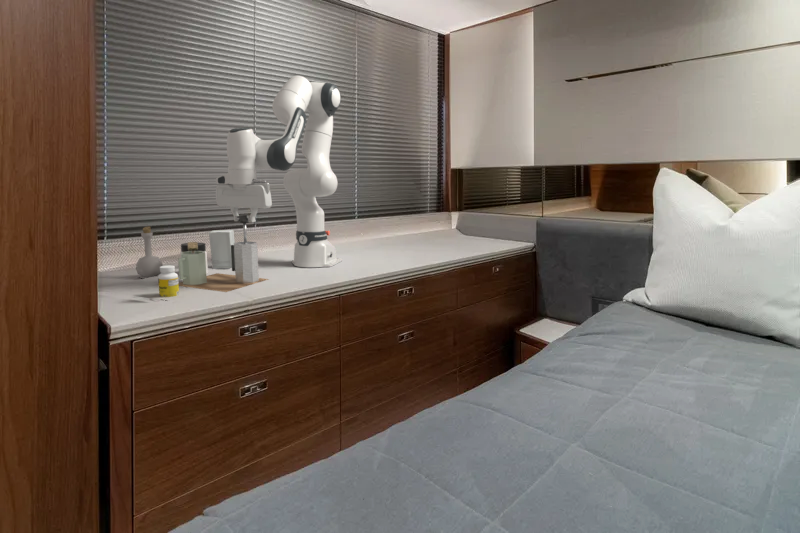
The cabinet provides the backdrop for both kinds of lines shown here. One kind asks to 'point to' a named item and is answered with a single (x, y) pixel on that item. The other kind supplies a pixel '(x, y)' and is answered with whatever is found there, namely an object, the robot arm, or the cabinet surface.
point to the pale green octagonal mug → (192, 268)
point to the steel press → (245, 262)
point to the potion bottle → (148, 258)
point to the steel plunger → (244, 226)
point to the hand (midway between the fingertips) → (244, 221)
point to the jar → (200, 248)
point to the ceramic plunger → (192, 246)
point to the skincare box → (221, 248)
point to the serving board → (220, 283)
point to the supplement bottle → (168, 282)
